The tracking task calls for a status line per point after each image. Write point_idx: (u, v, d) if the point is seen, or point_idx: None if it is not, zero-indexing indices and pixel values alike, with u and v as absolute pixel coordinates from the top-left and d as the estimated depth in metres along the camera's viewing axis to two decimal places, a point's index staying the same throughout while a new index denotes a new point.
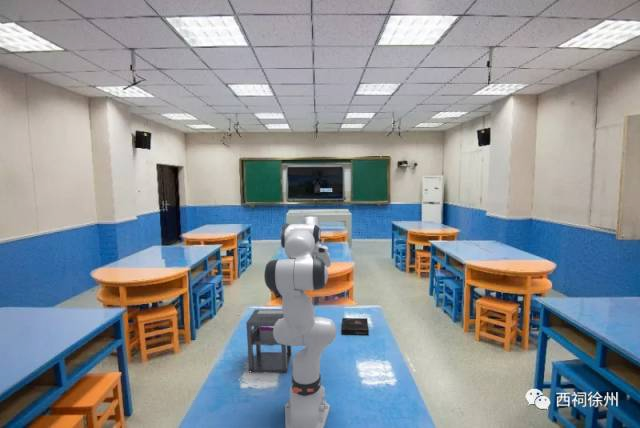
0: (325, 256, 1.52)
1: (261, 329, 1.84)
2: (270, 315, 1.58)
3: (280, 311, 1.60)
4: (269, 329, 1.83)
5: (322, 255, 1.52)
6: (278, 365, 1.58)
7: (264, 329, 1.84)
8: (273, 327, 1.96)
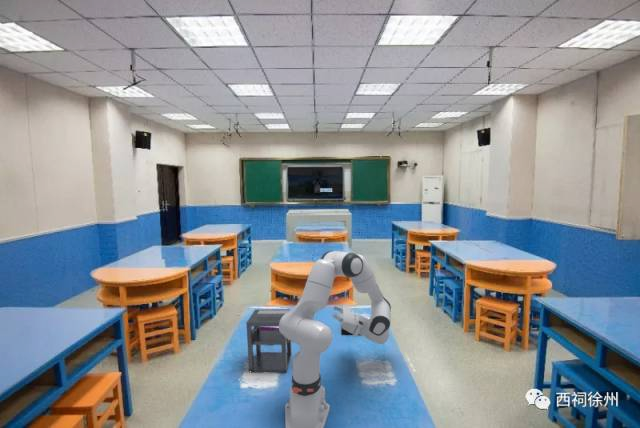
0: (354, 323, 1.50)
1: (261, 329, 1.84)
2: (270, 315, 1.58)
3: (280, 311, 1.60)
4: (269, 329, 1.83)
5: (354, 322, 1.52)
6: (278, 365, 1.58)
7: (263, 329, 1.84)
8: (273, 327, 1.96)
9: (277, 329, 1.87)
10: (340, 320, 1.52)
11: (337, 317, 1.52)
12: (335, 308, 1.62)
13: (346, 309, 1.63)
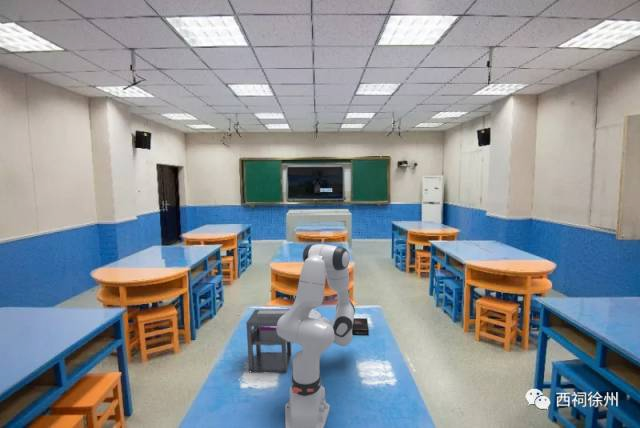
0: None
1: (261, 329, 1.84)
2: (270, 315, 1.58)
3: (280, 311, 1.60)
4: (269, 329, 1.83)
5: None
6: (278, 365, 1.58)
7: (263, 329, 1.84)
8: (273, 327, 1.97)
9: None
10: None
11: None
12: None
13: (311, 311, 1.65)
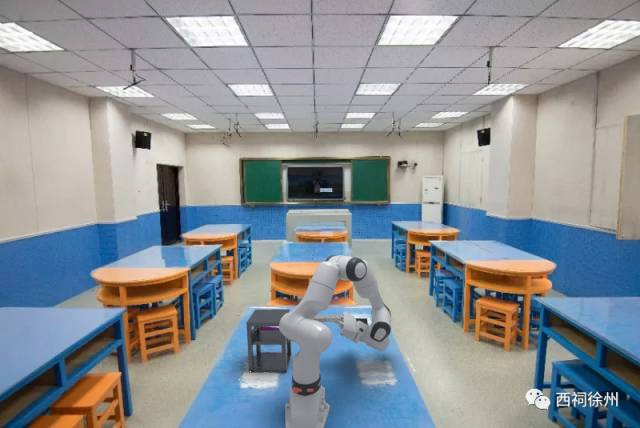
0: (354, 330, 1.51)
1: (261, 329, 1.85)
2: None
3: (316, 316, 1.60)
4: (269, 329, 1.83)
5: (355, 329, 1.52)
6: (278, 365, 1.58)
7: (263, 329, 1.84)
8: None
9: (277, 329, 1.87)
10: (341, 325, 1.54)
11: (338, 323, 1.55)
12: None
13: (347, 315, 1.64)
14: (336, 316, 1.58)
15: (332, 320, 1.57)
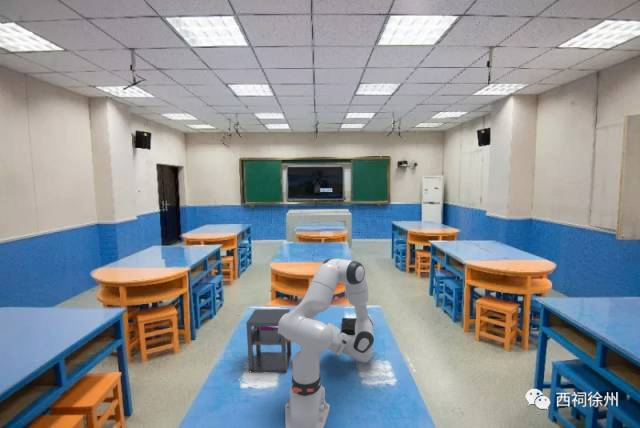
0: (337, 342, 1.51)
1: (261, 329, 1.85)
2: None
3: None
4: (269, 329, 1.84)
5: (338, 341, 1.53)
6: (278, 365, 1.58)
7: (263, 329, 1.84)
8: None
9: (277, 329, 1.87)
10: None
11: None
12: None
13: (331, 327, 1.65)
14: None
15: None
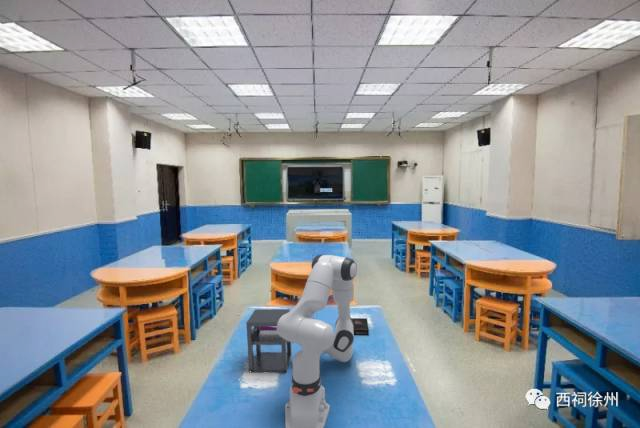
0: None
1: (260, 328, 1.85)
2: (271, 336, 1.59)
3: None
4: (268, 328, 1.84)
5: None
6: (278, 365, 1.58)
7: (263, 329, 1.84)
8: None
9: (276, 329, 1.88)
10: None
11: None
12: None
13: None
14: None
15: None
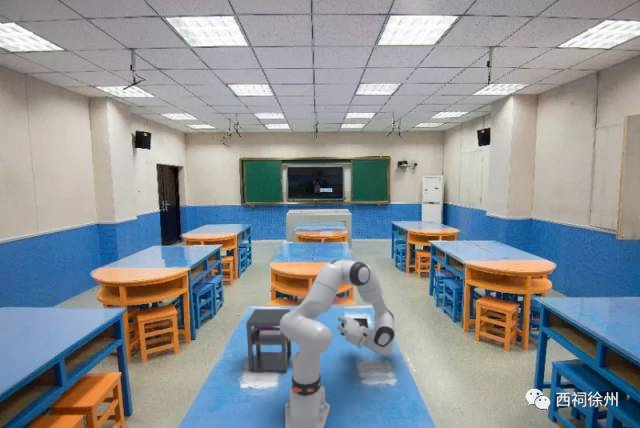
0: (358, 335, 1.51)
1: (260, 328, 1.85)
2: (271, 336, 1.59)
3: None
4: (268, 328, 1.84)
5: (359, 334, 1.52)
6: (278, 365, 1.58)
7: (262, 329, 1.85)
8: None
9: (276, 328, 1.88)
10: (344, 332, 1.52)
11: (341, 329, 1.53)
12: (339, 319, 1.63)
13: (350, 320, 1.64)
14: None
15: None
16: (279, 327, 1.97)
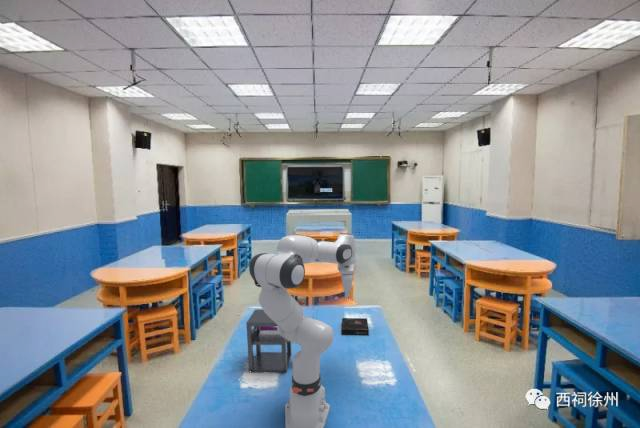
0: None
1: (260, 328, 1.85)
2: (271, 336, 1.59)
3: None
4: (267, 328, 1.84)
5: None
6: (278, 365, 1.58)
7: (262, 328, 1.85)
8: None
9: (276, 328, 1.88)
10: None
11: (347, 293, 1.47)
12: None
13: None
14: None
15: None
16: None
